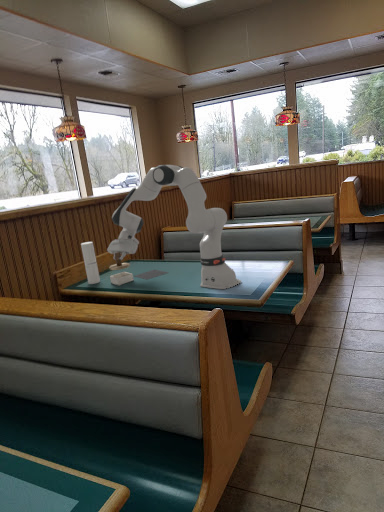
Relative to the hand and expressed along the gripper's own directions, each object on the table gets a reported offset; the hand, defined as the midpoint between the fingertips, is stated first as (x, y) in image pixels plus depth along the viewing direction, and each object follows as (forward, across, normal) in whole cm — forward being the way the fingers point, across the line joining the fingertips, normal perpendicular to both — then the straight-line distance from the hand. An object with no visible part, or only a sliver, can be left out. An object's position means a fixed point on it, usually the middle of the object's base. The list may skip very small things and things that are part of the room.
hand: (117, 259), depth 225 cm
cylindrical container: (+12, -20, +8) cm, 25 cm away
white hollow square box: (+10, 0, +10) cm, 14 cm away
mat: (-1, +10, +21) cm, 24 cm away
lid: (+3, 0, +4) cm, 5 cm away
